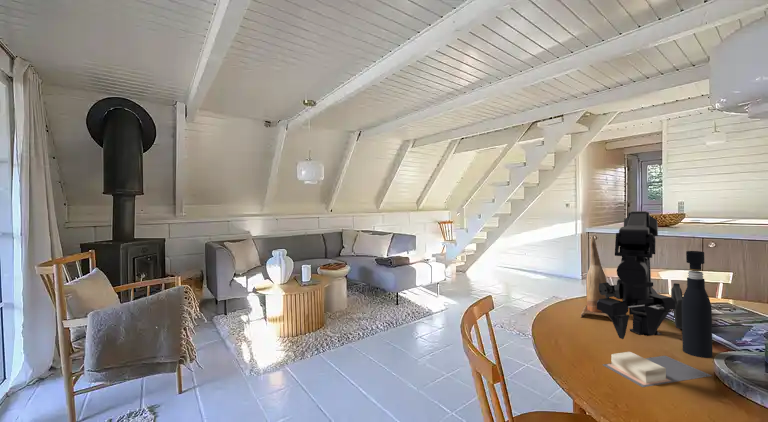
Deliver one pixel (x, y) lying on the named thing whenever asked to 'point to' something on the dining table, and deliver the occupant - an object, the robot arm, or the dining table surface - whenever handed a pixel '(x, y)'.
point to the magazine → (677, 304)
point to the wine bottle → (696, 311)
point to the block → (638, 367)
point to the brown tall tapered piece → (594, 282)
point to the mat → (673, 371)
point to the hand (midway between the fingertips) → (636, 336)
